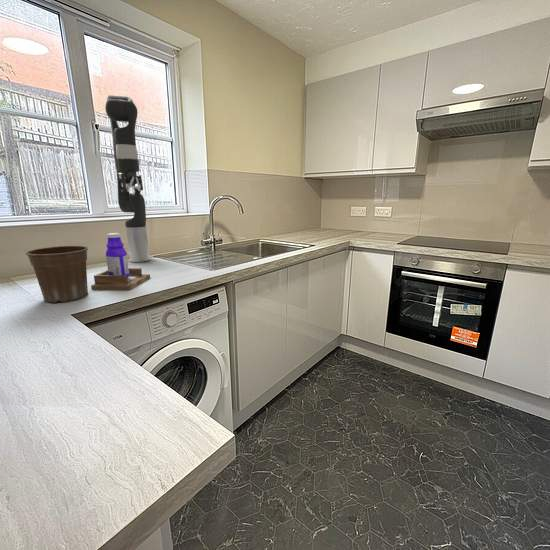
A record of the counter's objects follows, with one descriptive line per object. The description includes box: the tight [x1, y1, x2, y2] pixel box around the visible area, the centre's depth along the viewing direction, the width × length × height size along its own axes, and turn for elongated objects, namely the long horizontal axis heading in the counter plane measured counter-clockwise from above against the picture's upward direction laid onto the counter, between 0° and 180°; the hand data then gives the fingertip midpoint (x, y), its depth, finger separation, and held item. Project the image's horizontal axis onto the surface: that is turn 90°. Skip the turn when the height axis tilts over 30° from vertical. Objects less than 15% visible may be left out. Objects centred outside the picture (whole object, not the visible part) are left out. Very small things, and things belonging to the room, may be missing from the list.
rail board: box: [90, 267, 151, 291], centre depth 113 cm, size 16×14×4 cm
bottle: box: [105, 232, 130, 278], centre depth 111 cm, size 7×6×17 cm
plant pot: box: [25, 245, 89, 304], centre depth 97 cm, size 16×16×16 cm
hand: (132, 201), depth 118 cm, fingers open, 8 cm apart
